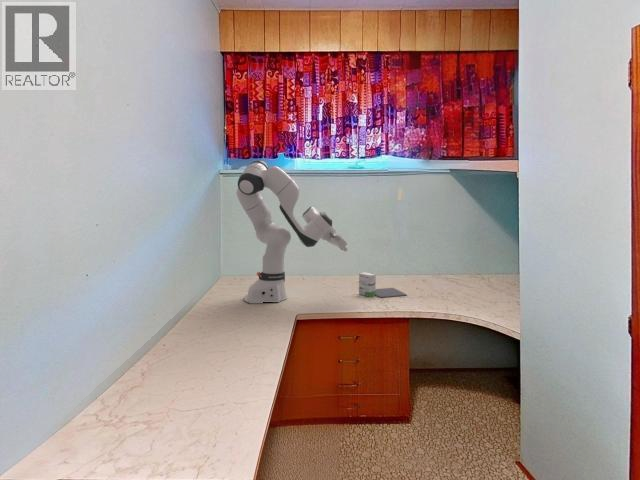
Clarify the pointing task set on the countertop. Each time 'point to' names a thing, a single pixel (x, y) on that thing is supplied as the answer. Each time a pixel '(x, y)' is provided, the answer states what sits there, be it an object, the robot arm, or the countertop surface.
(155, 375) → the countertop surface
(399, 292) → the mat
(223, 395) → the countertop surface
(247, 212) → the robot arm
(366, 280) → the ink box
